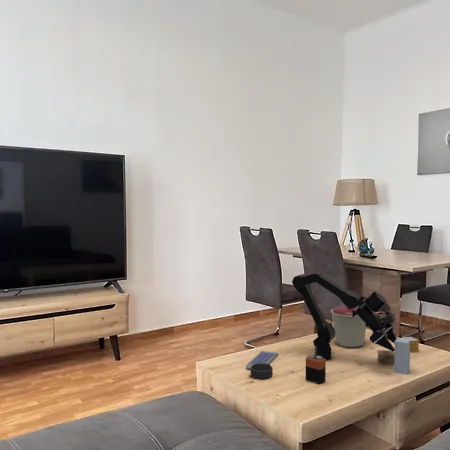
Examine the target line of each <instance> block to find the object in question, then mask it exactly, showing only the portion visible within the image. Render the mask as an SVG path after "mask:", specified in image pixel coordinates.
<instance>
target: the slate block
mask: <svg viewBox="0 0 450 450" xmlns="http://www.w3.org/2000/svg"><path fill="white" fill-rule="evenodd" d="M401 338H402V337H397V339H396V340H395V344H394V349H395V351H394V352H395V359H394V365H393V366H394V373H395V374H401V375H408V374H409V373H410V370H411V369H410V368H411V364H410V363H411V361H410V360H411V353H410V340H408V339H401Z"/></svg>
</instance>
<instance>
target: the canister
mask: <svg viewBox="0 0 450 450" xmlns="http://www.w3.org/2000/svg"><path fill="white" fill-rule="evenodd" d="M359 307H360V306H357V307H356V308H353V309H351V308H348V307H347V306H346V305H339V306H336V307H333V308H332V309H331V310H330V313H331V314H332V315H331V316H332V325H333V327H334V329H335V337H334V340H335V343H336V344H338V345H339V346H341V347H344V348H359V347H362V345H363V344H364V342H365V341H366V340H365V339H366V332H367V327H366V326H365V325H366V324H365V322H363V321H362V319H361V318H360V317H359V316H358V315H356V316H354V317H352V314H353V313H352V311H353V310H356V309H358V308H359Z"/></svg>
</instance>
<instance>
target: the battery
mask: <svg viewBox="0 0 450 450" xmlns="http://www.w3.org/2000/svg"><path fill="white" fill-rule="evenodd" d="M326 361H327V360H326V359H325V358H322V357H321V356H314V354H309V355H308V356H306V357H305V380H306V381H308V382H312V383H315V384H319V385H320V384H323V383H324V382H326V380H327V379H326V375H327V373H326V372H327V371H326V368H327V367H326V365H327V364H326V363H327V362H326Z"/></svg>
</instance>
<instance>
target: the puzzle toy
mask: <svg viewBox="0 0 450 450" xmlns="http://www.w3.org/2000/svg"><path fill="white" fill-rule="evenodd" d="M400 338H401V339H408V340H410V354H413V353H419V351H420V349H419V347H420V346H419V344H420V343H419V341H420V340H419V339H417V338H414V337H412V336H408V337H407V336H405V337H400Z"/></svg>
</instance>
